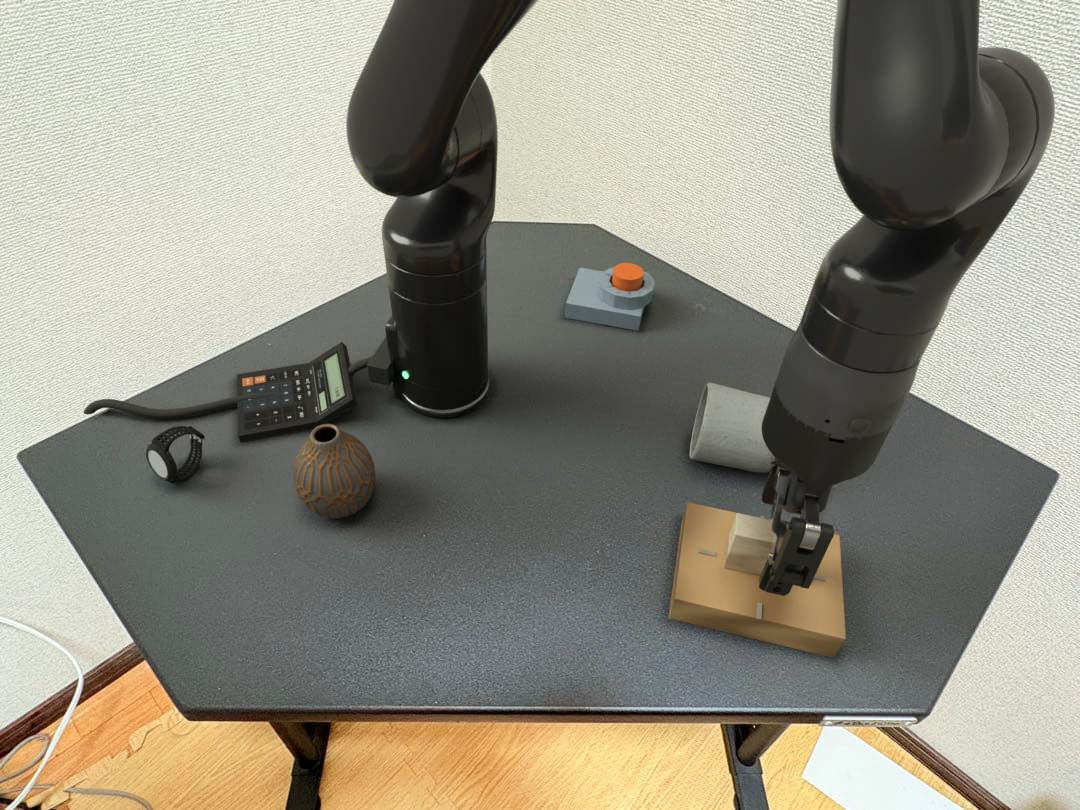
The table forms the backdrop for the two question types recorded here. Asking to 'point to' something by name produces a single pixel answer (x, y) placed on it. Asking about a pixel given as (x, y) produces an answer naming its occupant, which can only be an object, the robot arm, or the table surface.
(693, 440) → the ceramic mug
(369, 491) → the vase
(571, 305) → the button block
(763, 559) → the cream red striped block
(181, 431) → the smartwatch
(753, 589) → the knob base
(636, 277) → the button
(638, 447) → the table surface
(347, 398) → the calculator
